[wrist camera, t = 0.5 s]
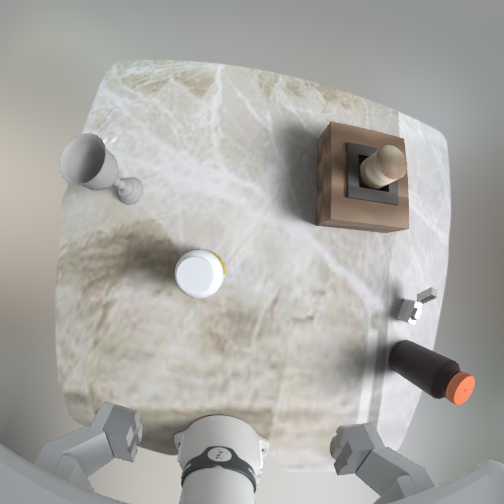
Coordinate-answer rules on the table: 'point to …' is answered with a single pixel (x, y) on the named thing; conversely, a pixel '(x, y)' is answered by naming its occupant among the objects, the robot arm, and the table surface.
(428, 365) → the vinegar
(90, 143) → the chalice
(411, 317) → the lighter
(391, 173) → the peg
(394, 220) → the block
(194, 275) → the supplement bottle
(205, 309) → the table surface
